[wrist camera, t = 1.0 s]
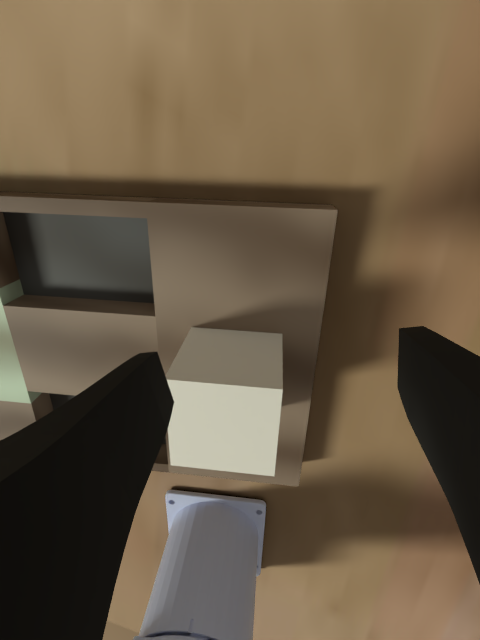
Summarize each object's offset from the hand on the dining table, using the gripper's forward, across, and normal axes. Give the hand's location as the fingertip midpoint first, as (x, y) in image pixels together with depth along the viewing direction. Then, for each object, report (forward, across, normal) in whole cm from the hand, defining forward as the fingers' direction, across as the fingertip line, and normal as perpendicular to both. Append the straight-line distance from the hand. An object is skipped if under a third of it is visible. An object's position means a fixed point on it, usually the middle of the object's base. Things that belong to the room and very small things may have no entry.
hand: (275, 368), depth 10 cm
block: (+8, +3, +5) cm, 10 cm away
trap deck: (+10, +11, +4) cm, 15 cm away
